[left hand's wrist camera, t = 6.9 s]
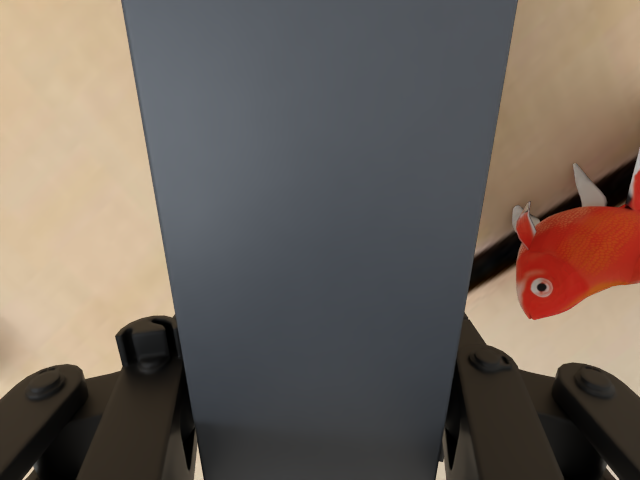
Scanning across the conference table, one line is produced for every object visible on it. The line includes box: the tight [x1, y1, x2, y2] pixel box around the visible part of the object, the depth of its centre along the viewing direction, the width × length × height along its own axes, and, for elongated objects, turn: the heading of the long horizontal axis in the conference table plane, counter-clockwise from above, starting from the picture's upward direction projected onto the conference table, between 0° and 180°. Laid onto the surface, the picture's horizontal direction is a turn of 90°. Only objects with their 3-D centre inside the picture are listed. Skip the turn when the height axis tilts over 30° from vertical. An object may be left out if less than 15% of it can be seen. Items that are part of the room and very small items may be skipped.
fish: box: [512, 149, 640, 320], centre depth 20 cm, size 11×16×10 cm
